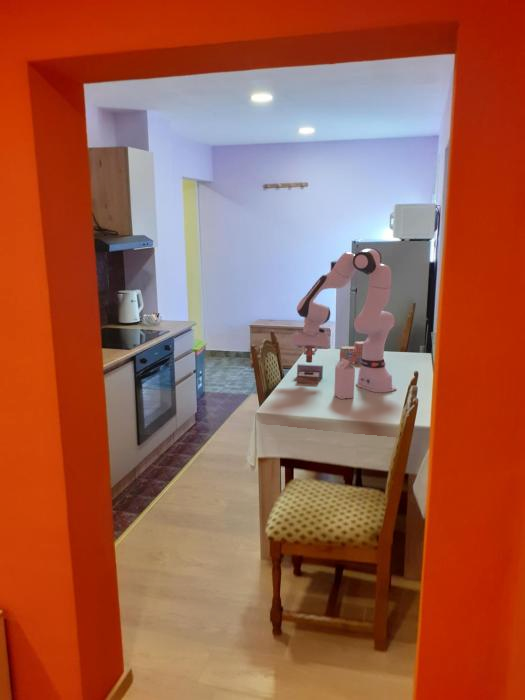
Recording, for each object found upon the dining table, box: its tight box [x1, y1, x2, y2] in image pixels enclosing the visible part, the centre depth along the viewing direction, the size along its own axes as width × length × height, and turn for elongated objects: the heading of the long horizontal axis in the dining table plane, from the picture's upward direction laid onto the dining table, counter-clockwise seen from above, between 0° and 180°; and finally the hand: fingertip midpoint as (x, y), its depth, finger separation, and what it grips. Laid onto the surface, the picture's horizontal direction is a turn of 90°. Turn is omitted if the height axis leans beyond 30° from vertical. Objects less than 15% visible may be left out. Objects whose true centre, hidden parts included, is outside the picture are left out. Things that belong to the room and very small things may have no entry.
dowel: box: [305, 347, 313, 364], centre depth 309 cm, size 3×3×8 cm
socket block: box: [297, 371, 320, 385], centre depth 311 cm, size 11×11×4 cm
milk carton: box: [333, 358, 356, 400], centre depth 282 cm, size 7×7×19 cm
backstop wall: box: [296, 364, 324, 379], centre depth 318 cm, size 2×14×7 cm, turn 81°
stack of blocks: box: [339, 341, 364, 364], centre depth 354 cm, size 21×6×12 cm, turn 96°
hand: (309, 354), depth 308 cm, fingers closed on dowel, 3 cm apart
